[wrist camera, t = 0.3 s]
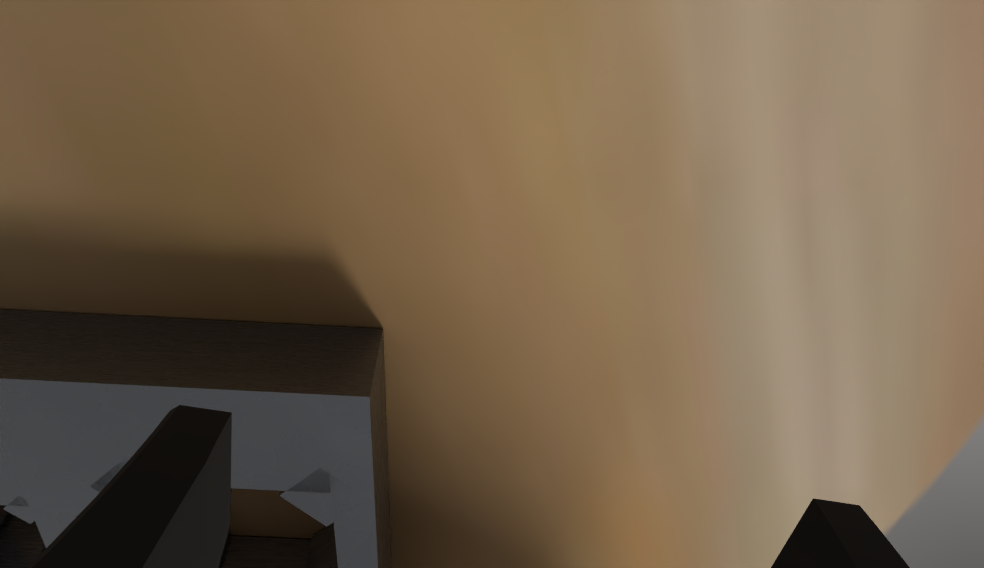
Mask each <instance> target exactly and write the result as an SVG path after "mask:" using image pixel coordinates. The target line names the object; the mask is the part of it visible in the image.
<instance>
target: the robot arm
mask: <svg viewBox="0 0 984 568" xmlns="http://www.w3.org/2000/svg"><path fill="white" fill-rule="evenodd" d="M231 437H232V412H225V411H218V410H211V409H204V408H198V407H191V406H184V405H179V406H177V407H175V408H173V409H172V410H170V411H169V412H168V414H167V415H166V416H165V417H164V419H163V420H162V421H161V422H160V424H159V425H158V426H157V427H156V429H155V430H154V431H153V432H152V433H151V435H150V436H149V437H148V438H147V439H146V441H145V442H144V443H143V444H142V445H141V447H140V448H139V449H138V450H137V451H136V452H135V454H134V455H133V456H132V457H131V458H130V459H129V460H128V462H127V463H126V464H125V465H124V466H123V467H122V468H121V470H120V471H119V472H118V473H117V474H116V475H115V476H114V477H113V478H112V480H111V481H110V482H109V483H108V484H107V485H106V486H105V487H104V488H103V489H102V491H101V492H100V493H99V494H98V495H97V496H96V497H95V498H94V499H93V500H92V501H91V502H90V503H89V504H88V506H87V507H86V508H85V509H84V510H83V511H82V512H81V513H80V514H79V515H78V516H77V517H76V518H75V519H74V520H73V521H72V522H71V523H70V524H69V525H68V526H67V527H66V528H65V529H64V530H63V532H62V533H61V534H60V535H59V536H58V537H57V538H56V539H55V540H54V541H53V542H52V543H51V544H50V545H49V546H48V547H47V548H46V549H45V550H44V551H43V552H42V553H41V554H40V555H39V556H38V557H37V558H36V559H35V560H34V561H33V562H32V563H31V564H30V565H29V566H28V567H27V568H218V567H219V563H220V560H221V556H222V552H223V549H224V545H225V541H226V538H227V534H228V530H229V526H230V507H231ZM771 568H909V566H908V565H907V564H906V563H905V561H904V560H903V559H902V558H901V556H900V555H899V554H898V552H897V551H896V550H895V549H894V547H893V546H892V545H891V544H890V542H889V541H888V540H887V538H886V537H885V536H884V535H883V533H882V532H881V531H880V530H879V528H878V527H877V526H876V525H875V524H874V522H873V521H872V520H871V519H870V518H869V516H868V515H867V514H866V513H865V512H864V510H863V509H862V508H861V507H860V506H859V505H853V504H846V503H840V502H833V501H826V500H819V499H813V500H812V501H811V503H810V505H809V506H808V508H807V510H806V511H805V513H804V514H803V516H802V518H801V519H800V521H799V523H798V524H797V526H796V528H795V529H794V531H793V533H792V534H791V536H790V537H789V539H788V541H787V542H786V544H785V546H784V547H783V549H782V551H781V552H780V554H779V555H778V557H777V559H776V560H775V562H774V564H773V565H772V567H771Z"/></svg>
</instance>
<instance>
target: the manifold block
mask: <svg viewBox="0 0 984 568" xmlns="http://www.w3.org/2000/svg"><path fill="white" fill-rule="evenodd" d="M179 405H184V406H191V407H198V408H204V409H211V410H218V411H225V412H232V437H231V488H235V489H255V490H276V491H280V494H279V496H280V497H282V498H283V499H285V500H286V501H288V502H289V503H291V504H293V505H294V506H296V507H297V508H299V509H300V510H302V511H303V512H305V513H306V514H308V515H309V516H311V517H312V518H314V519H316V520H317V521H319V522H320V523H322V524H323V525H325V526H326V527H325V528H324V529H322V530H321V531H319V532H317V533H316V534H314V535H313V536H312V539H311V540H307V539H286V538H266V537H246V536H229V533H230V531H228V534H227V538H226V541H225V545H224V549H223V552H222V556H221V560H220V563H219V567H218V568H392V566H391V538H390V510H389V481H388V453H387V425H386V397H385V369H384V341H383V329H380V328H361V327H341V326H321V325H301V324H282V323H262V322H242V321H223V320H203V319H183V318H164V317H144V316H124V315H104V314H85V313H65V312H45V311H26V310H6V309H0V568H27V567H28V566H29V565H30V564H31V563H32V562H33V561H34V560H35V559H36V558H37V557H38V556H39V555H40V554H41V553H42V552H43V551H44V550H45V549H46V548H47V547H48V546H49V545H50V544H51V543H52V542H53V541H54V540H55V539H56V538H57V537H58V536H59V535H60V534H61V533H62V532H63V530H64V529H65V528H66V527H67V526H68V525H69V524H70V523H71V522H72V521H73V520H74V519H75V518H76V517H77V516H78V515H79V514H80V513H81V512H82V511H83V510H84V509H85V508H86V507H87V506H88V504H89V503H90V502H91V501H92V500H93V499H94V498H95V497H96V496H97V495H98V494H99V493H100V492H101V491H102V489H103V488H104V487H105V486H106V485H107V484H108V483H109V482H110V481H111V480H112V478H113V477H114V476H115V475H116V474H117V473H118V472H119V471H120V470H121V468H122V467H123V466H124V465H125V464H126V463H127V462H128V460H129V459H130V458H131V457H132V456H133V455H134V454H135V452H136V451H137V450H138V449H139V448H140V447H141V445H142V444H143V443H144V442H145V441H146V439H147V438H148V437H149V436H150V435H151V433H152V432H153V431H154V430H155V429H156V427H157V426H158V425H159V424H160V422H161V421H162V420H163V419H164V417H165V416H166V415H167V414H168V412H169V411H170V410H172V409H173V408H175V407H177V406H179Z"/></svg>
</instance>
